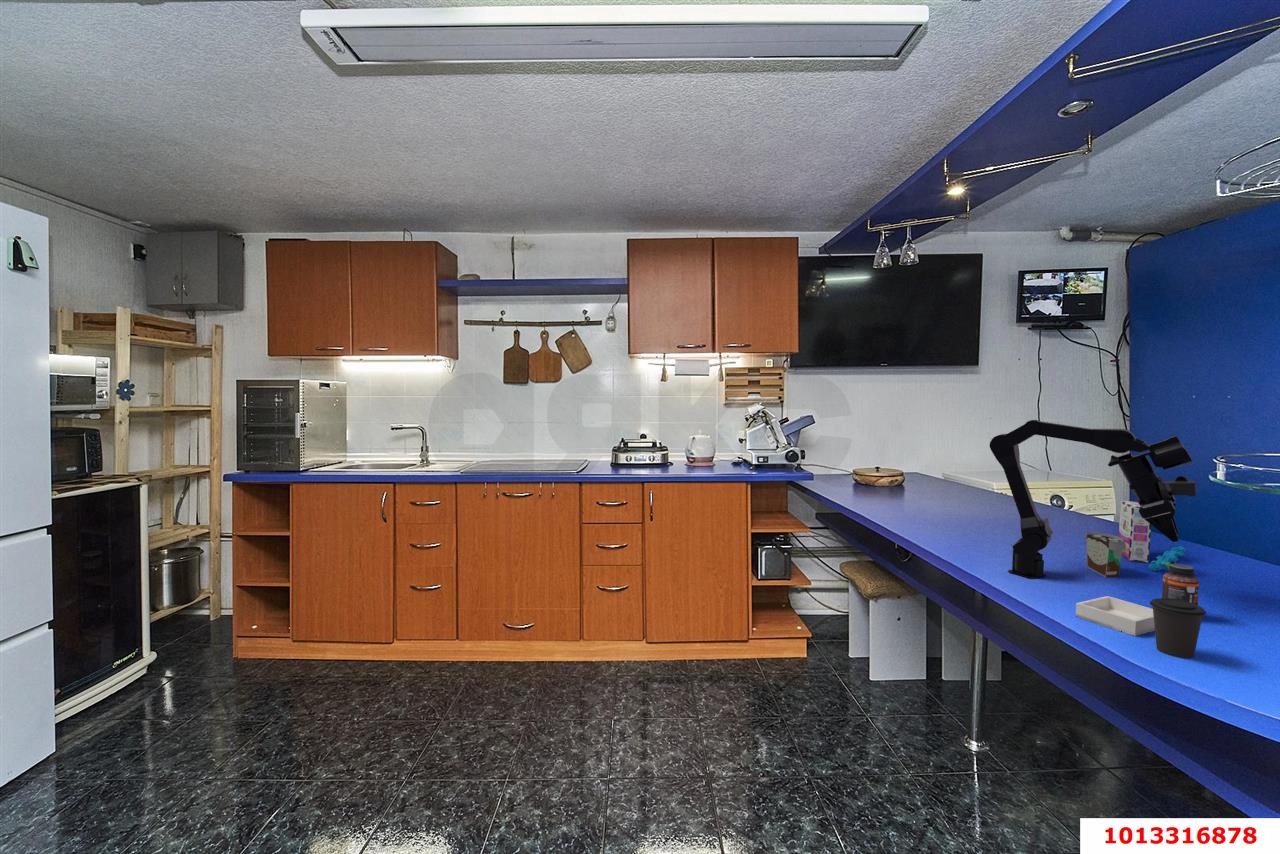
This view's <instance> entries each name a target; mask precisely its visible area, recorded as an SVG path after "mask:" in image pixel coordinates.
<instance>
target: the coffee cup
mask: <svg viewBox="0 0 1280 854" xmlns="http://www.w3.org/2000/svg"><path fill="white" fill-rule="evenodd" d="M1149 605H1151V607H1152V609H1153V616H1154V626H1155V631H1154V633H1155V634H1154V635H1155V636H1154V637H1155V645H1156V650H1157V651H1158V652H1160V653H1163V654H1165V655H1167V656H1170V657H1175V658H1179V659H1193V658H1194V657H1195V654H1196V653H1195V652H1196V648H1197V644H1198V639H1199V634H1200V629H1201V625H1202V620H1203V616H1205V615H1207V611H1206V609H1204V608H1203V607H1202V606H1201V605H1199V604H1198V605H1195V604H1192V603H1190V602H1187V601H1184V600H1179V599H1172V598H1162V597H1159V598H1158V597H1157V598H1152V599H1151V600H1150V601H1149Z"/></svg>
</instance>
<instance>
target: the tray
mask: <svg viewBox="0 0 1280 854" xmlns="http://www.w3.org/2000/svg"><path fill="white" fill-rule="evenodd" d="M1076 616H1077V617H1076ZM1075 617H1076V618H1078V617H1079V618H1078V619H1081V618H1082V619H1081V620H1084V621H1088V622H1090V623H1094V624H1097V625H1100V626H1102V627H1106V628H1109V629H1111V628H1112V629H1113V630H1114V631H1115V630H1116V631H1118V632H1121V631H1122V633H1123V634H1127V635H1130V634H1131V635H1130V636H1133V635H1134V636H1133V637H1137V635H1138V636H1141V634H1142V635H1144V634H1149V633H1153V632H1155V626H1154V616H1153V608H1151V607H1149V606H1143V605H1141V604H1137V603H1134V602H1130V601H1126V600H1123V599H1120V598H1116V597H1112V596H1108V595H1105V596H1101V597H1097V598H1092V599H1088V600H1085V601H1084V600H1083V601H1080V602H1076V604H1075ZM1148 632H1149V633H1148Z"/></svg>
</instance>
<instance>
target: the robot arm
mask: <svg viewBox="0 0 1280 854" xmlns="http://www.w3.org/2000/svg"><path fill="white" fill-rule="evenodd" d="M1034 436H1042V437H1048V438H1053V439H1061V440H1066V441H1072V442H1077V443H1078V442H1079V443H1083V444H1089V445H1092V446H1095V447H1097V448H1100V449H1103V450H1107V451H1109V452H1112V453H1116V454H1122V455H1120V456H1118V455H1114V454H1112V455H1111V456H1110V460H1109V462H1108V463H1107V465H1108V467H1113V466H1117V465H1118V466H1119V468H1120V470H1121V472H1122V474H1123V476H1124V477H1125V479H1126V480H1127V483H1128V487H1129V488H1130V490H1132V491H1133V494H1134V495H1135V496H1136V499H1137V502H1138V503H1139V504H1140V505H1141V506H1140V508H1139V513H1140V515H1141V517H1142V518H1144V520H1145V521H1147V522H1148V523H1150V524H1151V527H1154V528H1155V529H1156V530H1157V531H1159V532H1160V533H1161V534H1163V535H1164V536H1165V537H1166V538H1168V540H1169V541H1172V543H1177V542H1179V537H1178V535H1179V529H1178V526H1177V523H1176V520H1175V515H1176V512H1177V511H1176V508H1175V506H1176V505H1177V501H1176V499H1175V496H1186V497H1197V483H1196V481H1195V480H1189V479H1188V478H1187V477H1186V476H1185V475H1177V476H1176V477H1175V479H1174V480H1163V479H1162V477H1161V476H1159V475H1157V473H1156V471H1155V469H1154V468H1153V466H1152V464H1151V462H1152V463H1153V464H1154V466H1155V468H1156V469H1157V468H1159V469H1160V468H1162V469H1163V471H1167V470H1170V469H1173V468H1177V467H1180V466H1183V465H1187V464H1191V463H1193V462H1194V460H1193V458H1192V457H1191V454H1190V453H1189V452H1188V450H1187V448H1186V447H1185V446H1184V445H1183V443H1182V441H1181V440H1180V438H1179V437H1178V436H1177V435H1174V436H1171V437H1168V438H1166V439H1164V440H1161V441H1158V442H1155V443H1151V444H1150V443H1147V441H1143V440H1141V439H1139V438H1137V437H1136V436H1135V434H1134V433H1133V432H1132V431H1131V430H1129V429H1125V428H1086V427H1080V426H1075V425H1069V424H1062V423H1055V422H1048V421H1041V420H1038V419H1031V420H1027V422H1025V423H1024V424H1022V425H1020V426H1019V427H1017V428H1015V429H1014V430H1012V431H1010V432H1008V433H1000V434H998V435H995V436H993V438H991V439H990V442H989V448H990V451H991V452H992V453H991V454H992V455H993V456H994V458H995V459H996V461H997V462H998V463H999V465H1000V466H1001V468H1002V469H1003V472H1004V474H1005V478H1006V480H1007V481H1006V482H1007V483H1008V486H1009V489H1010V492H1011V494H1012V498H1013V499H1014V503H1015V505H1016V510H1017V511H1018V514H1019V518H1020V533H1021V534H1020V535H1021V538H1019V539H1018V540H1017V541H1016V542H1015V543H1014V544H1013V545H1012V562H1011V563H1012V564H1011V566H1012V567H1011V569H1008V570H1007V572H1008V573H1010V574H1014V575H1017V576H1020V577H1023V578H1028V579H1036V578H1040V577H1046V576H1047V574H1046V573H1044V569H1045V560H1044V559H1043V556H1044V555H1043V554H1042V553H1040V551H1041V550H1044V549H1045V548H1046V547H1047V546H1048V544H1049V543H1050V542H1051V540H1052V535H1053V533H1054V531H1053V530H1052V529H1051V527H1050V522H1049V518H1047V517H1046V518H1044V519H1042V517H1041V515H1039V513H1038V512H1037V511H1038V510H1037V509H1036V508H1037V507H1036V506H1035V503H1034V500H1033V498H1032V494H1031V491H1030V489H1029V486H1028V484H1027V483H1028V482H1027V481H1026V477H1025V475H1024V472H1023V470H1022V469H1023V468H1022V467H1021V460H1020V457H1021V456H1020V449H1019V445H1021V444H1022V443H1023V442H1025V441H1027V440H1029V439H1030V438H1032V437H1034ZM1146 451H1147V452H1146ZM1127 452H1129V453H1127ZM1132 452H1137V453H1140V454H1137V455H1133V453H1132ZM1143 452H1144V453H1143ZM1125 453H1126V454H1125ZM1147 456H1149V458H1150V460H1151V462H1150V461H1149V459H1148V457H1147Z"/></svg>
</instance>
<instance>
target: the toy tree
mask: <svg viewBox="0 0 1280 854" xmlns="http://www.w3.org/2000/svg"><path fill="white" fill-rule="evenodd" d="M1186 551H1187V549H1186V548H1185V546H1181V545H1180V546H1178V547H1175V546H1174V547H1173V548H1171V550H1165V551H1164V552H1163V555H1162V554H1161V555H1160V554H1159V555H1158V556H1156V557H1155V558H1156V560H1152V561H1150V564H1149V565H1148V569H1150V570H1152V571H1153V572H1155V571H1156V570H1157V571H1160V570H1162V569H1163V567H1165V569H1166V568H1167V571H1169V572H1170V570H1169V566H1170V564H1177V562H1176V561H1178V560H1179V558H1178V557H1183V556H1184V555H1185V552H1186Z"/></svg>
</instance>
